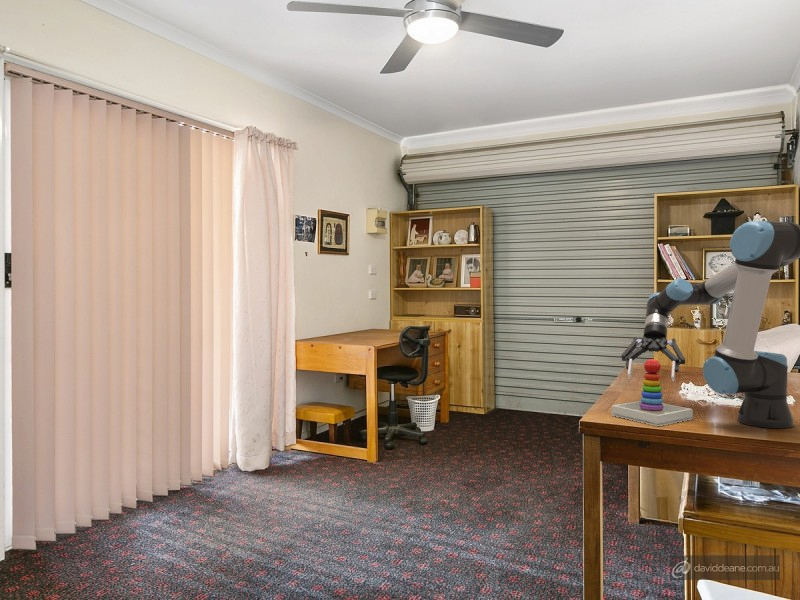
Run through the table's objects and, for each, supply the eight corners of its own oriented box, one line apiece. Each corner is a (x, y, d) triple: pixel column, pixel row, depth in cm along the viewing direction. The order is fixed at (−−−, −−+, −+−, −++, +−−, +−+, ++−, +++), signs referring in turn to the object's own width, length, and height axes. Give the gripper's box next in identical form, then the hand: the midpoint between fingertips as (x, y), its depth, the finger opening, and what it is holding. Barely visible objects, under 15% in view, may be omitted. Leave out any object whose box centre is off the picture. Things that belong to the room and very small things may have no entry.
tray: (692, 419, 194) (692, 409, 193) (658, 426, 184) (658, 415, 184) (645, 409, 209) (645, 399, 209) (611, 415, 200) (611, 405, 200)
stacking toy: (667, 417, 192) (667, 361, 192) (641, 416, 194) (641, 360, 193) (661, 412, 200) (661, 357, 199) (636, 411, 202) (636, 357, 201)
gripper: (694, 337, 206) (692, 387, 193) (620, 335, 218) (613, 381, 205) (694, 323, 201) (691, 373, 188) (617, 321, 213) (610, 368, 200)
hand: (650, 377), depth 197 cm, fingers open, 13 cm apart
